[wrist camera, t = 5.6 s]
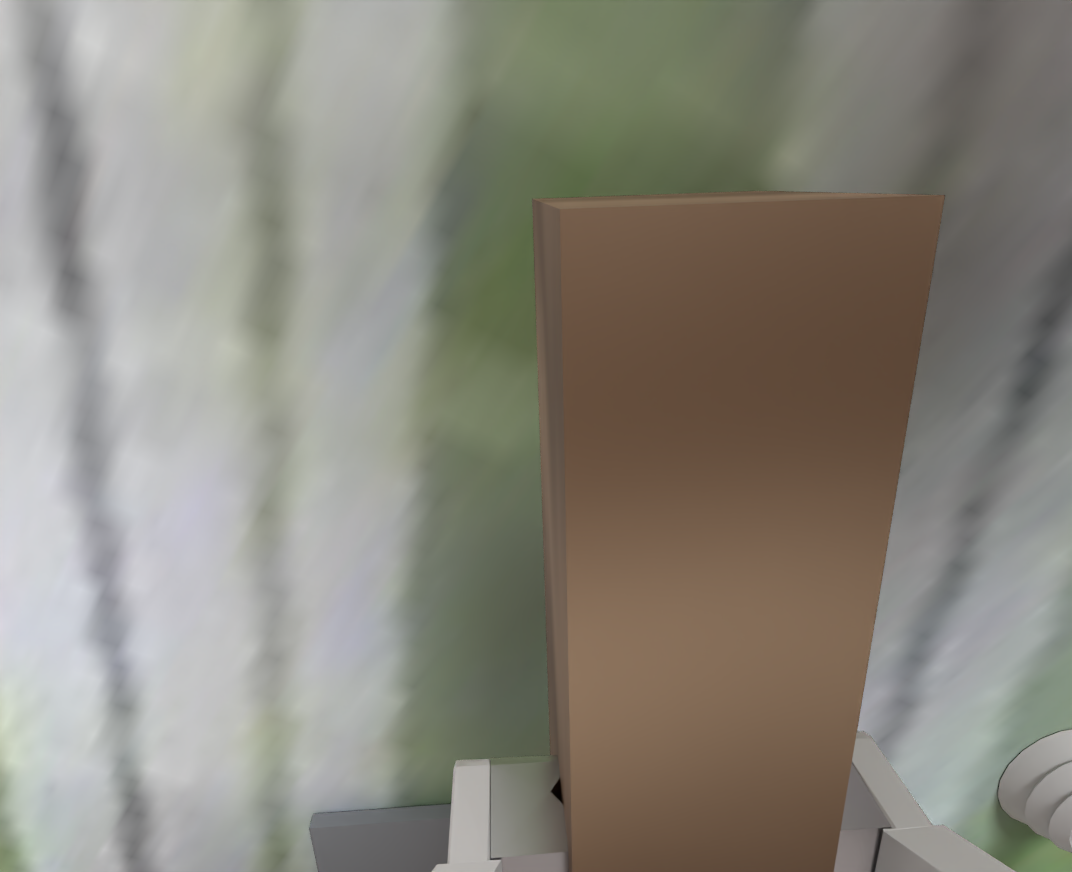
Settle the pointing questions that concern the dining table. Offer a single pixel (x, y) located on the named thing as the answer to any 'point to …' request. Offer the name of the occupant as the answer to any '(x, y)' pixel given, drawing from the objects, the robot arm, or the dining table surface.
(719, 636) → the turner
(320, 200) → the dining table surface
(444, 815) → the mat
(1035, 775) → the chalice
